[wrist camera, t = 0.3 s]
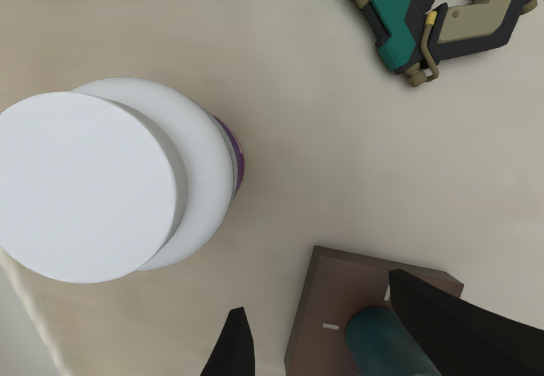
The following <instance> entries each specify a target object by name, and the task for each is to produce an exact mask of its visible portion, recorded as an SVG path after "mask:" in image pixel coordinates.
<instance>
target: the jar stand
mask: <svg viewBox="0 0 544 376" xmlns="http://www.w3.org/2000/svg"><path fill="white" fill-rule="evenodd" d="M400 268H401V269H403V270H405V271H407V272H409V273H410V274H412V275H414V276H416V277H418V278H420V279H422V280H424V281H425V282H427V283H429V284H431V285H433V286H435V287H437V288H439V289H441V290H443V291H445V292H447V293H449V294H451V295H453V296H455V297H457V298H460V296H461V293H462V290H463V287H464V284H463V283H461V282H460V281H458V280H457V279H455V278H454V277H452V276H451V275H449V274H448V273H446V272H442V271H437V270H432V269H427V268H422V267H417V266H412V265H408V264H403V263H398V262H393V261H388V260H383V259H378V258H373V257H369V256H364V255H359V254H354V253H349V252H344V251H339V250H334V249H330V248H325V247H320V246H314V250H313V254H312V258H311V261H310V265H309V269H308V273H307V276H306V280H305V284H304V288H303V291H302V295H301V299H300V303H299V306H298V310H297V314H296V317H295V321H294V325H293V329H292V332H291V336H290V340H289V344H288V347H287V351H286V355H285V359H284V362H285V371H286V376H360V374H359V372H358V369H357V367H356V365H355V363H354V360H353V358H352V356H351V353H350V351H349V349H348V346H347V344H346V340H345V334H346V329H347V326H348V324H349V322H350V321H351V319H352V318H353V317H354V316H355V315H356V314H358V313H359V312H361V311H362V310H365V309H367V308H371V307H383V308H387V309H390V310H392V311H393V312H395V311H394V309H393V308H392V306H391V298H390V286H389V274H388V271H391V270H395V269H400Z"/></svg>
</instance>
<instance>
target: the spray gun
mask: <svg viewBox="0 0 544 376" xmlns="http://www.w3.org/2000/svg"><path fill="white" fill-rule="evenodd" d="M355 1H356V3H357V5H358V7H359V8H360V9H363V11H364V12H365V14H366V16H367V18H368V19H369V21H370V23H371V25H372V26H373V28H374V30H375V32H376V33H377V35H378V37H379V39H380V40H379V41H378V42H377V43H376V44H375V45H376V47H377V51H378V52H379V54H380V56H381V58H382V59H383V61H384V63H385V64H386V66H387V68H388V70H389V71H394V73H395V74H400V73H402V72H404V73H405V74H409V75H410V77H409V81H410V83H411V85H412V87H416V86H419V85H420V84H422V83H424V82H430V81H432V80H434V79H436V78H438V75H439V71H438V68H437V66H436V65H438V64H439V62H440V60H445V59H450V58H455V57H460V56H464V55H469V54H473V53H478V52H482V51H487V50H491V49H495V48H499V47H501V46H504V45H506V44H507V43H508V41H509V39H510V36H511V34H512V32H513V30H514V27H515V25H516V23H517V20H518V18H519V16H520V15H523V14H526V13H528V12H530V11H531V10H533V9H534V8H535V7H536V6H537V5H538V4H537V0H474V2H473V4H472V5H464V6H454V7H449V8H448V5H447V3H446V2H445V3H443V4H441V5H439V6H438V7H437V8H435V9H434V10H432V11H431V12H429V13H428V14H424V13H426V12H427V11H429V10H430V9H431V6H432V5H433V3H434V1H435V0H355ZM419 67H420V69H427V68H430V69H431V71H432V73H433V75H431V76H428V77H426V75H425V73H424V71H423V70H420V69H419Z"/></svg>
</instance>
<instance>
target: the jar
mask: <svg viewBox="0 0 544 376" xmlns="http://www.w3.org/2000/svg"><path fill="white" fill-rule="evenodd" d="M345 340H346V344H347V346H348V349H349V351H350V353H351V356H352V358H353V360H354V363H355V365H356V367H357V369H358V372H359V374H360V376H442V375H441V374H440V372H439V371H438V370H437V368H436V367H435V366H434V364H433V363H432V362H431V361H430V359H429V358H428V357H427V355H426V354H425V353H424V352H423V350H422V349H421V348H420V346H419V345H418V344H417V343H416V341H415V340H414V339H413V337H412V336H411V335H410V334H409V332H408V331H407V330H406V328H405V327H404V326H403V324H402V322H401V321H400V319H399V318H398V316H397V314H396V313H395V312H393V311H392V310H390V309H387V308H383V307H371V308H367V309H365V310H362V311H361V312H359V313H358V314H356V315H355V316H354V317H353V318H352V319H351V321H350V322H349V324H348V326H347V329H346V334H345Z"/></svg>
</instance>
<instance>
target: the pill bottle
mask: <svg viewBox="0 0 544 376" xmlns="http://www.w3.org/2000/svg"><path fill="white" fill-rule="evenodd" d="M243 174H244V154H243V150H242V147H241V145H240V142H239V140H238V139H237V137H236V135H235V134H234V133H233V131H232V130H231V129H230V128H229V127H228V126H227V125H226V124H225V123H223V122H222V121H221V120H219V119H217V118H216V117H214V116H213V115H212V114H210V113H209V112H207V111H206V110H204V109H203V108H202V107H200V106H199V105H198V104H196V103H195V102H194V101H193V100H191V99H189V98H188V97H186V96H185V95H183V94H181V93H180V92H178V91H176V90H174V89H172V88H170V87H168V86H165V85H162V84H159V83H156V82H153V81H149V80H145V79H139V78H132V77H116V78H106V79H101V80H97V81H93V82H90V83H87V84H84V85H82V86H79V87H77V88H75V89H74V90H72V91H70V92H67V91H60V92H49V93H43V94H39V95H35V96H31V97H29V98H27V99H24V100H22V101H20V102H18V103H16V104H14V105H12V106H11V107H9V108H8V109H6V110H5V111H4V112H2V113H1V114H0V246H1V247H2V248H3V249H4V250H5V251H6V252H7V253H8V254H9V255H10V256H11V257H13V258H14V259H15V260H17V261H18V262H19V263H21V264H22V265H24V266H25V267H27V268H29V269H31V270H32V271H34V272H37V273H39V274H41V275H44V276H46V277H49V278H52V279H56V280H60V281H65V282H72V283H97V282H104V281H109V280H113V279H116V278H119V277H122V276H125V275H127V274H129V273H131V272H133V271H143V270H152V269H158V268H162V267H165V266H169V265H172V264H174V263H177V262H179V261H181V260H183V259H185V258H187V257H189V256H190V255H192V254H193V253H195V252H196V251H197V250H199V249H200V248H201V247H202V246H204V245H205V244H206V243H207V242H208V241H209V240H210V239H211V237H212V236H213V235H214V234H215V232H216V231H217V230H218V228H219V226H220V225H221V223H222V221H223V219H224V218H225V216H226V214H227V211H228V209H229V207H230V204H231V202H232V200H233V198H234V196H235V194H236V192H237V190H238V188H239V186H240V184H241V182H242V179H243Z"/></svg>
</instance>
